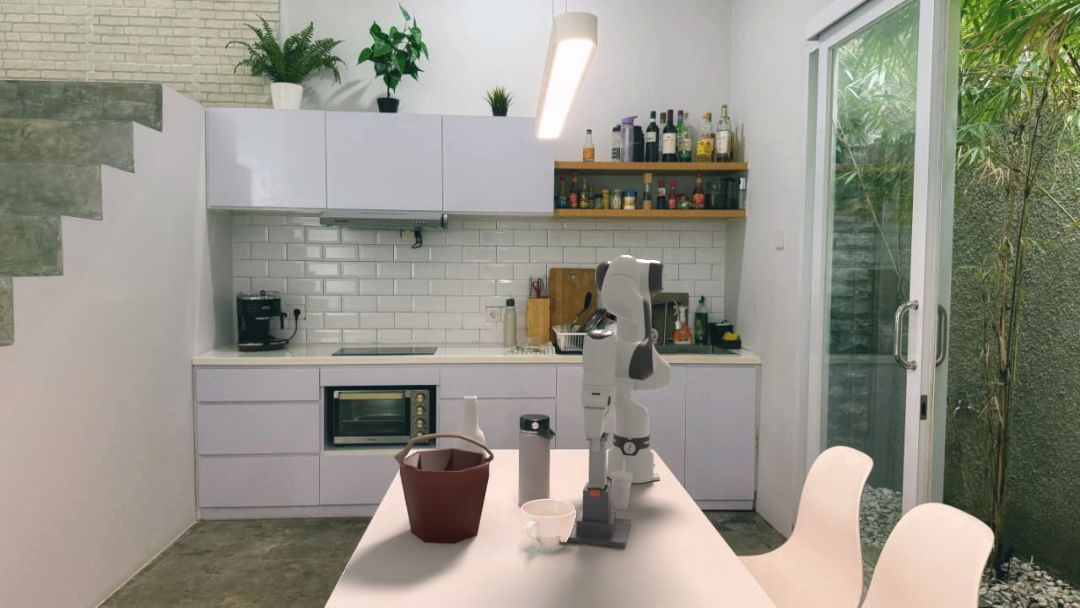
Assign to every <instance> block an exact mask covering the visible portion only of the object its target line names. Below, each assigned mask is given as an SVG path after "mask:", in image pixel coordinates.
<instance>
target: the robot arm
mask: <svg viewBox="0 0 1080 608" xmlns="http://www.w3.org/2000/svg"><path fill="white" fill-rule="evenodd" d="M667 276H668V274H667V271H666V268H665V265H664V264H663V262H661V261H660V260H654V259H651V260H647V259H637V258H635V257H633V256H631V255H628V254H627V255H626V254H623V255H618V256H616V257H614V258H613V260H611V259H610V260H609V259H608V260H604V261H602V262H600V263H598V265H597V267H596V271H595V273H594V280H595V281H594V282H595V285H596V289H597V290H598V291H600V293H601V294H600V300H601V303H602V305H603V307H604V308H605V309H606V311H608V312H609V313H611V315H613V316H615V317H616V334H615V332H614V331H613V330H608V329H604V328H603V329H593V330H589V331H588V332H586V334H585V337H584V341H583V346H582V347H583V349H582V356H581V357H582V358H581V359H582V361H581V363H582V364H581V366H582V371H583V375H582V379H581V401H580V402H581V407H583V419H584V420H583V421H584V422H583V425H584V434H585V437H586V439H587V438H588V439H592V443H593V451H594V452H599V451H600V447H601V444H600V438H601V436H602V434H603V433H606V429H607V427H608V425H609V424H610V422H611V409H612V410H613V418H614V419H613V420H614V432H613V435H612V447H611V448H610V449H609V450H607V470H606V478H609V479H611V480H612V478H611V477H610V476H611V472H613V471H623V459H625V471H628V472H631V473H632V474H633V478H632V480H631V484H643V483H644V484H645V483H647V482H648V483H649V482H651V481H659V480H661V477H660V476H661V475H660V474H659V472H658V470H657V468H656V463H655V453H653V451H652V449H650V445H651V435H650V434H649V430H650V427H649V426H650V413H649V410H648V409H647V407H646V406H644V404H643V405H642V404H641V403H639V402H637V401H635V400H634V399H632V393H655V392H659V391H660V392H661V391H664V390H667V389H668V388H670V386H671V383H672V381H673V378H674V377H673V375H674V373H673V370H672V367H671V365H670V363H668V361H667V360H666V359H664V358H663V357H662V356H661V355H660V354H659V353H658V351H657V350H656V347H655V345H654V342H653V341H654V339H653V338H654V337H653V326H652V325H653V323H652V299H651V298H655V296H657V295H659V294H661V292H663V290H665V286H666V285H667V280H668V277H667Z"/></svg>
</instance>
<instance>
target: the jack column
mask: <svg viewBox="0 0 1080 608" xmlns="http://www.w3.org/2000/svg"><path fill="white" fill-rule="evenodd" d="M610 438H611V433H610V432H605V433H603V434H602V436H601V438H600V444H601V447H600V451H599V452H594V451H593V443H592V439H588V438H586V441H589V442H588V451H589V452H588V490H601V491H606V484H607V476H606V470H607V463H608V441H609V439H610Z"/></svg>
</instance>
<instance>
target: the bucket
mask: <svg viewBox="0 0 1080 608" xmlns="http://www.w3.org/2000/svg"><path fill="white" fill-rule="evenodd" d="M440 438H453V439H455V438H460V439H463V440H466V441H469V442H471V443H474V444H475V445H477V446H479V447H481V448H483V449H484V450H485V453H482V452H476V451H470V450H464V449H458V448H455V447H449V448H439V449H438V448H437V449H428V450H426V449H425V450H417V451H415V452H414V453H412V454H410V455H409V456H408V454H409V452H410V451H411V449H412V448H413V447H414V445H415V444H416V443H420V442H423V441H427V440H431V439H432V440H433V439H440ZM486 453H487V454H488V455H489V456H488V457H487V454H486ZM406 456H407V457H406ZM494 457H495V456H494V453H493V452H492V450H491V449H490V448H489V447H488V446H487V445H486V443H485V444H483V443H481V442H479V441H477V440H475V439H473V438H470V437H468V436H465V435H462V434H457V433H456V432H454V433H453V432H438V433H430V434H428V433H427V434H424V435H418V436H417V437H412V438H410V439H409V441H408V443H407V444H406V446H405V447H404V449H403V450H401V451H399V452H397V453H396V454H395V456H394V459H395V460H396V462H397V463H398V464H399V477H400V480H401V481H400V482H401V486H402V490H403V491H402V492H403V496H404V501H405V507H406V511H407V516H408V522H409V528H410V531H411V534H412V535H414V537H417V538H418V539H419V540H421V541H422V542H423V543H425V544H447V545H448V544H450V545H456V544H459V543H461V542H464V541H466V540H469V539H471V538H473V537H477V536H478V533H479V529H480V523H481V521H482V520H481V518H482V514H483V509H484V503H485V499H486V494H487V489H488V483H489V479H490V463H491V462H492V461H493V460H494Z"/></svg>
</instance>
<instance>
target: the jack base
mask: <svg viewBox="0 0 1080 608" xmlns="http://www.w3.org/2000/svg"><path fill="white" fill-rule="evenodd" d="M588 483H589V481H588V482H586V483H585V485H584V488H583V489H582V508H581V511H580V513H579V514H576V513H575V514H576V518H575V521H574V525H573V528H572V531H571V534H570V536H569V538H568V540H567V543H566V544H573V545H582V546H583V545H584V546H593V547H599V548H600V547H601V548H603V547H604V548H613V549H622V550H625V548H626V546H627V541H628V538H629V534H630V529H631V527H632V526H631V525H632V524H631V523H632V519H629V518H619V517H618V518H617V511H612V483H611V484H610V483H609V484H607V483H606V491H601V490H588Z"/></svg>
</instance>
